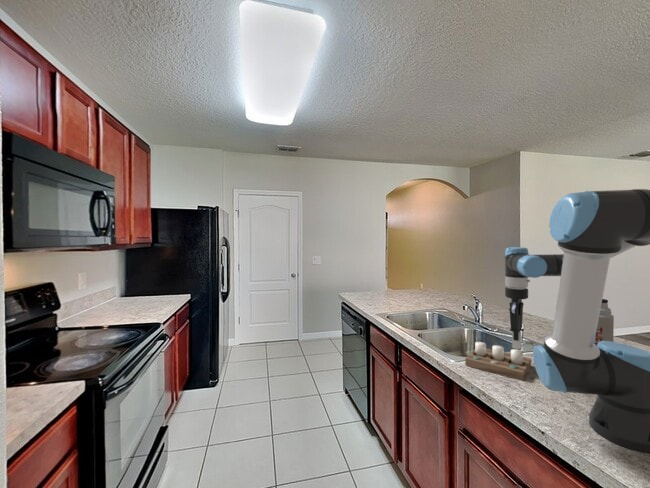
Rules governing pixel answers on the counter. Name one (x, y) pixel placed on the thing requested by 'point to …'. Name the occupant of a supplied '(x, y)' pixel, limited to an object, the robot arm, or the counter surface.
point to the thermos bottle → (604, 324)
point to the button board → (499, 365)
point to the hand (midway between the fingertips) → (516, 347)
